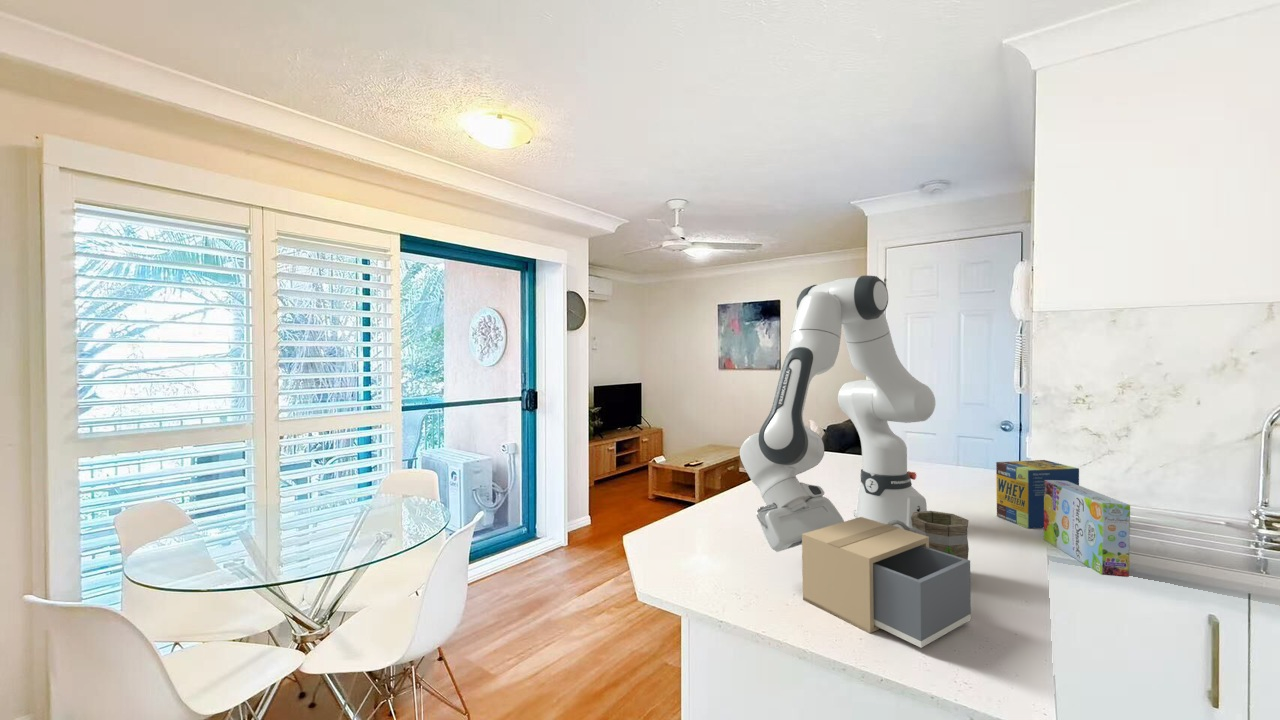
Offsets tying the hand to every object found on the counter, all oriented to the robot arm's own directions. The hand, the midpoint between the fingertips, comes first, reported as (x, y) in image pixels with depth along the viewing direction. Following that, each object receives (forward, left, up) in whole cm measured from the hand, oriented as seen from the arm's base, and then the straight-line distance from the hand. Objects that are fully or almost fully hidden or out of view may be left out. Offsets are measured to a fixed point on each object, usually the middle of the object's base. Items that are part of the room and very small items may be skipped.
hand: (825, 560), depth 102 cm
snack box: (-59, +23, -5) cm, 63 cm away
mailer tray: (0, +13, -5) cm, 13 cm away
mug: (-21, +9, -5) cm, 23 cm away
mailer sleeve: (0, +9, -5) cm, 10 cm away
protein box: (-79, +7, -5) cm, 79 cm away
